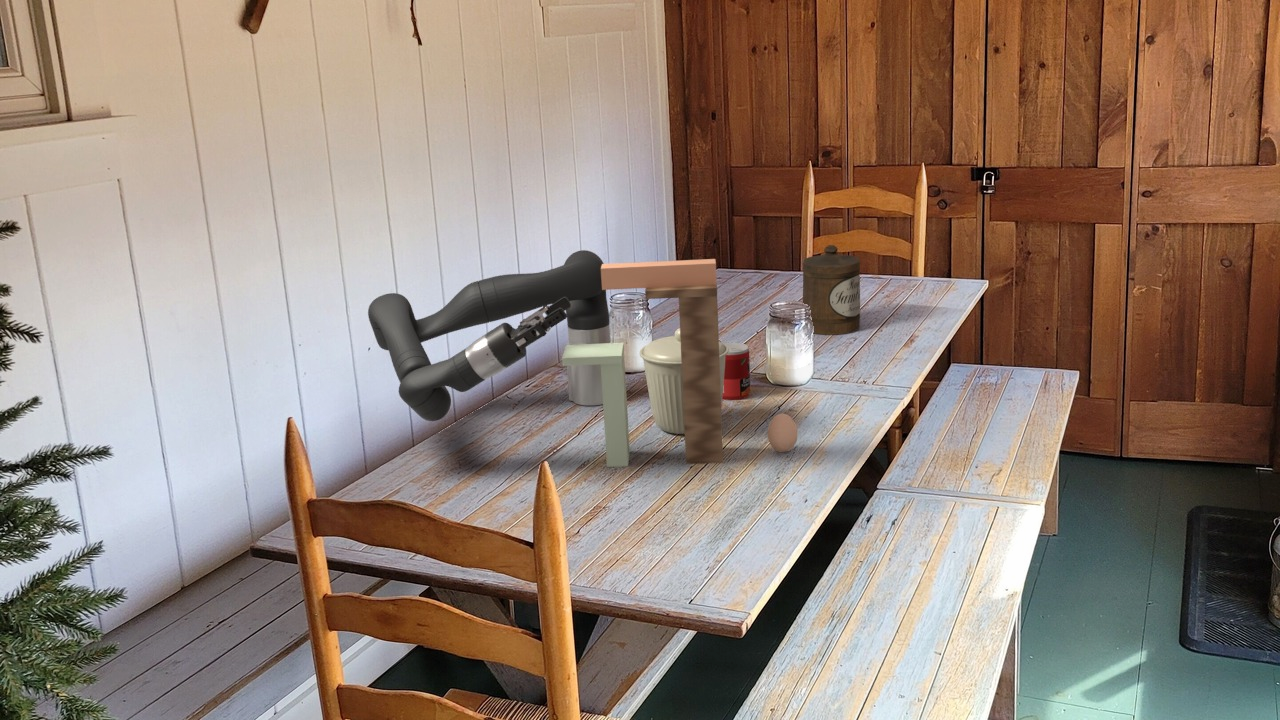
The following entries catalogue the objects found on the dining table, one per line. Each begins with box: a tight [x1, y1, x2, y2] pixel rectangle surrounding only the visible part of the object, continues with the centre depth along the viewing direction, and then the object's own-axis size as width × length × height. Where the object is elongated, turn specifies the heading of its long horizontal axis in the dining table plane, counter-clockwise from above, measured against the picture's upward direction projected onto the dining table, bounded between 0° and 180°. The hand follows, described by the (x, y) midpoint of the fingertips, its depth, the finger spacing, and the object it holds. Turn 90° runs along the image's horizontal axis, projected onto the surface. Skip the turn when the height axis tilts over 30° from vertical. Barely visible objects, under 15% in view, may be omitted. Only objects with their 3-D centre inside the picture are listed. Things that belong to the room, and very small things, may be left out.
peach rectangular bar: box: [601, 258, 718, 291], centre depth 222 cm, size 21×4×4 cm, turn 88°
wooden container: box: [802, 244, 861, 336], centre depth 313 cm, size 15×15×22 cm
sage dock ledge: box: [561, 342, 631, 468], centre depth 230 cm, size 11×9×22 cm
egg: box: [767, 413, 799, 453], centre depth 231 cm, size 6×6×8 cm
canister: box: [639, 327, 729, 435], centre depth 245 cm, size 18×18×21 cm
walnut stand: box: [644, 284, 724, 465], centre depth 227 cm, size 13×9×34 cm
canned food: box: [722, 342, 751, 401], centre depth 265 cm, size 8×8×11 cm
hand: (566, 306), depth 224 cm, fingers open, 8 cm apart
